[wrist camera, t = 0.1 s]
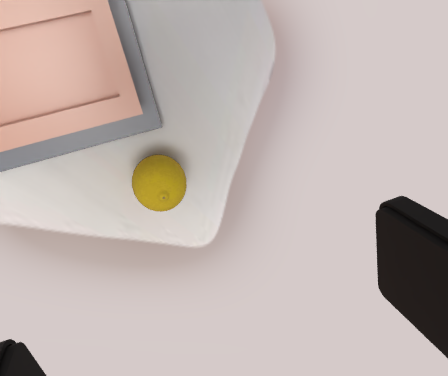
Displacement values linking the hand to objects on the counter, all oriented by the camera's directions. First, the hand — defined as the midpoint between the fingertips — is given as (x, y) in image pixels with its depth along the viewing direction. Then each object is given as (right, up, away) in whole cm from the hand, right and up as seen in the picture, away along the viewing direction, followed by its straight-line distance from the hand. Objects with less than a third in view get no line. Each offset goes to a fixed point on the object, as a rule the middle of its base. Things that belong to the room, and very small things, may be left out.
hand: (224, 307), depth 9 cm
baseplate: (-17, +14, +24) cm, 33 cm away
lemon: (-8, +5, +31) cm, 32 cm away
